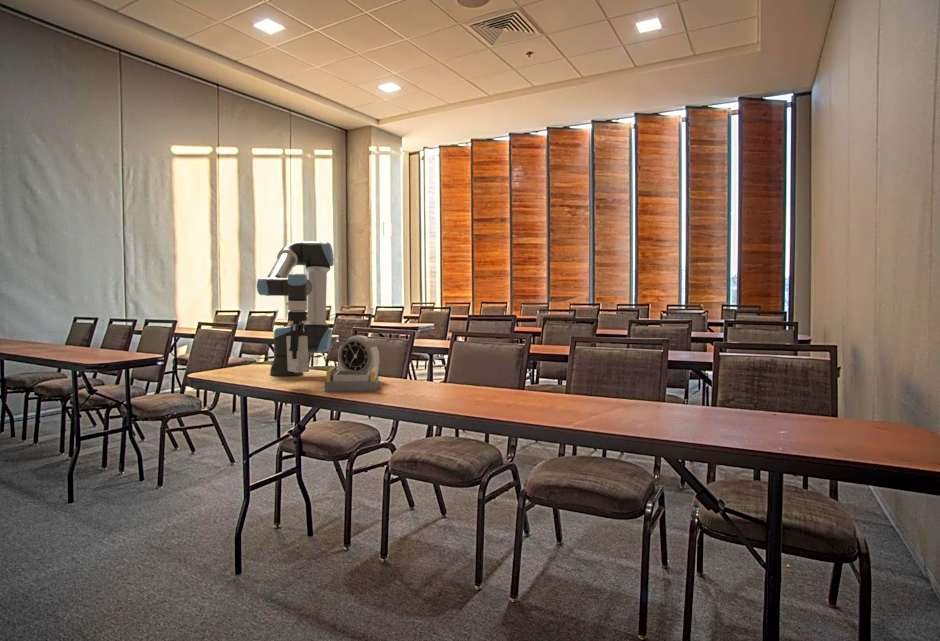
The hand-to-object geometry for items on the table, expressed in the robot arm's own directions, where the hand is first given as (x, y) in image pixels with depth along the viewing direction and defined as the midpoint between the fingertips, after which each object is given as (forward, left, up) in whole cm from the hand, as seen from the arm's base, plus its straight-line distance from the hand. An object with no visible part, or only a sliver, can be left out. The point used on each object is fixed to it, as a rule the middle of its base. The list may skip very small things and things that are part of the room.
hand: (297, 364), depth 236 cm
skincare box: (0, 0, -3) cm, 3 cm away
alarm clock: (-20, +23, -10) cm, 32 cm away
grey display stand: (+4, +23, -10) cm, 25 cm away
